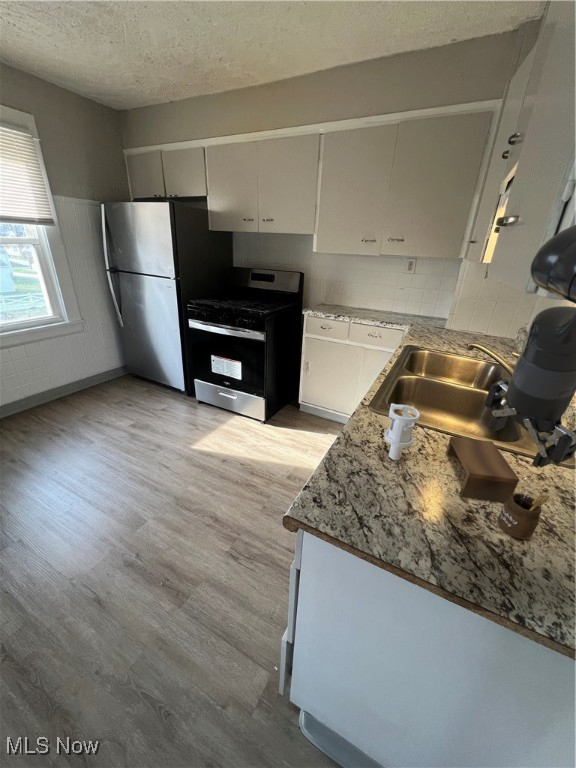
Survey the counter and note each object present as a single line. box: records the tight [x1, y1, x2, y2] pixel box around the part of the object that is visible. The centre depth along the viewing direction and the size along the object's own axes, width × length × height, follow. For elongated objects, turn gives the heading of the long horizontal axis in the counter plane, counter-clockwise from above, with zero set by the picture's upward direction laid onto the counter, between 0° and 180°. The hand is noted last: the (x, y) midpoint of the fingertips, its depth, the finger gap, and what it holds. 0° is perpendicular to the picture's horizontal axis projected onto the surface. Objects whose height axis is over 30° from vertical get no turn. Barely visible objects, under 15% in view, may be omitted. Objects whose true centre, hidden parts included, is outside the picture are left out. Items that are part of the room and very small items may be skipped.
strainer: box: [384, 402, 421, 461], centre depth 80 cm, size 7×7×15 cm
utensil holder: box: [497, 477, 551, 540], centre depth 61 cm, size 6×6×12 cm
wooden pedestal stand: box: [445, 436, 520, 504], centre depth 75 cm, size 10×14×7 cm
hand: (516, 445), depth 55 cm, fingers open, 8 cm apart
